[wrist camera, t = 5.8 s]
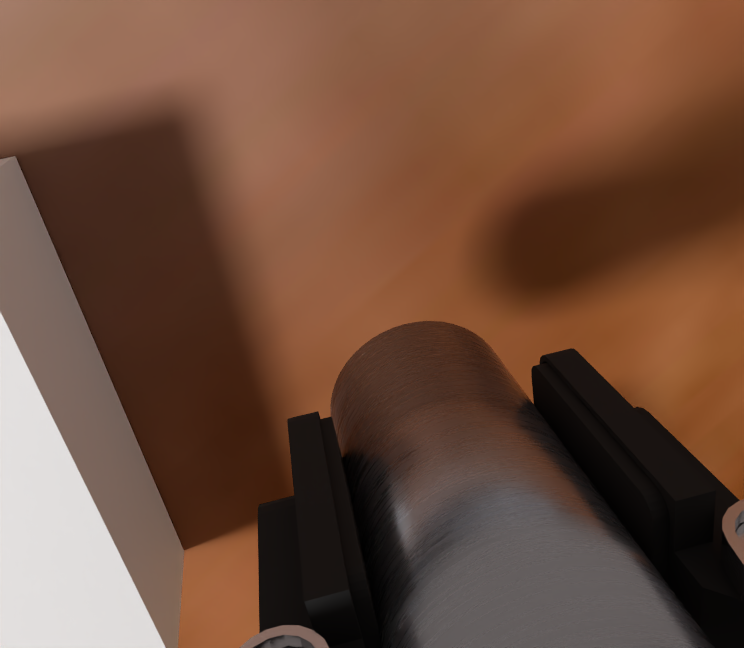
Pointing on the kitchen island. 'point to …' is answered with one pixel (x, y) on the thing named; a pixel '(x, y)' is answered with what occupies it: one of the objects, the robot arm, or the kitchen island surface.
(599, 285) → the kitchen island surface
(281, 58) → the kitchen island surface
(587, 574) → the round bit
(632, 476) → the robot arm
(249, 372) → the kitchen island surface
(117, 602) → the block
